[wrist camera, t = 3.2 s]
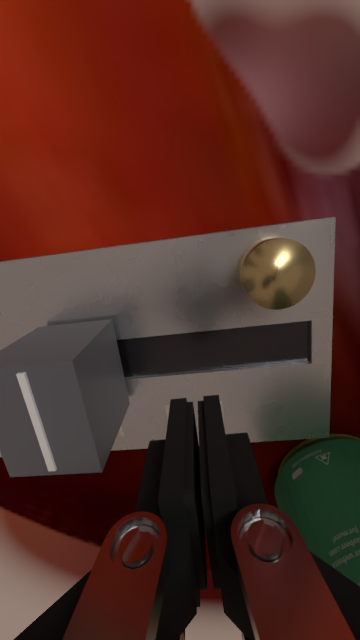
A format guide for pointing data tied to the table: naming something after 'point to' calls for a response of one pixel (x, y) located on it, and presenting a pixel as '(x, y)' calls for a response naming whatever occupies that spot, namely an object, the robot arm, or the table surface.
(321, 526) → the beverage can
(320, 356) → the console
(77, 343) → the fader cap
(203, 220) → the table surface
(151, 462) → the robot arm
